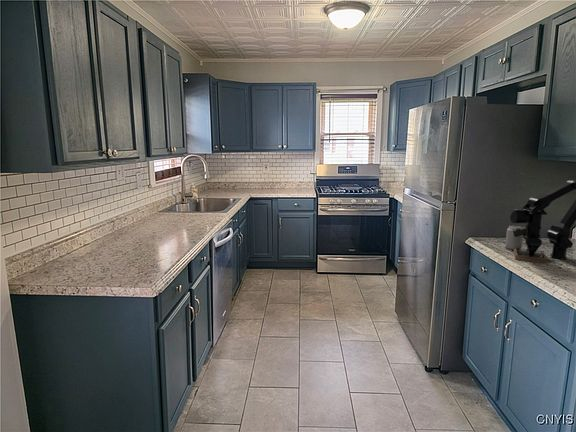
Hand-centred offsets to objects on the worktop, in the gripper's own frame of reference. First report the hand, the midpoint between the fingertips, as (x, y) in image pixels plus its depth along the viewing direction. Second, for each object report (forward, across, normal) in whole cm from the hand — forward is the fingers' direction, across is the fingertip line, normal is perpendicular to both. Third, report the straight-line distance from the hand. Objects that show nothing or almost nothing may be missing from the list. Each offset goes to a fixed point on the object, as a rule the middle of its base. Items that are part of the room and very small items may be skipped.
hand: (529, 254), depth 182 cm
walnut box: (+2, 0, 0) cm, 2 cm away
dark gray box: (+2, 0, 0) cm, 2 cm away
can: (+2, -14, -6) cm, 15 cm away
